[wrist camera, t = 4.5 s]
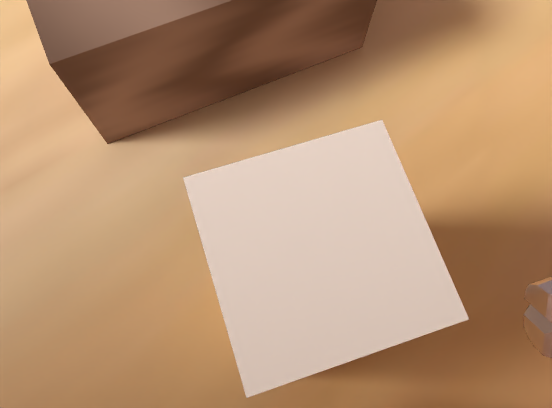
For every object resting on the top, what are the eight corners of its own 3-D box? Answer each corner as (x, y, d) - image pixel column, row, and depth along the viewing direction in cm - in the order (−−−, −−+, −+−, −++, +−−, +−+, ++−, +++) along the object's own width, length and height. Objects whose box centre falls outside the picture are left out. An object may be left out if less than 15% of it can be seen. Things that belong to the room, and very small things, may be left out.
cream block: (254, 377, 17) (246, 397, 9) (219, 260, 19) (182, 177, 10) (369, 337, 18) (469, 319, 9) (328, 226, 19) (381, 119, 10)
